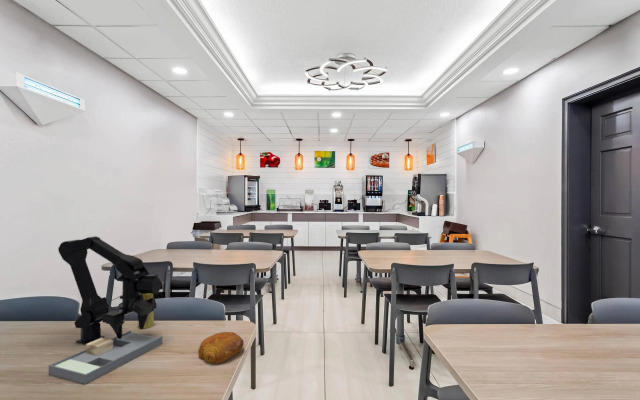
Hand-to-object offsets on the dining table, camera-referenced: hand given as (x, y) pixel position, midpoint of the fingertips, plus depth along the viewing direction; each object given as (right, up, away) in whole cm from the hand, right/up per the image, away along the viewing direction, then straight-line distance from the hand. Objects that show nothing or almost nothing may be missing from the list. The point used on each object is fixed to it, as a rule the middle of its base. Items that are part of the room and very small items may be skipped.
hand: (131, 333), depth 122 cm
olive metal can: (-3, -4, +16) cm, 17 cm away
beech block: (-4, -1, -11) cm, 12 cm away
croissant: (+36, -4, -8) cm, 37 cm away
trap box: (0, -3, -11) cm, 12 cm away
